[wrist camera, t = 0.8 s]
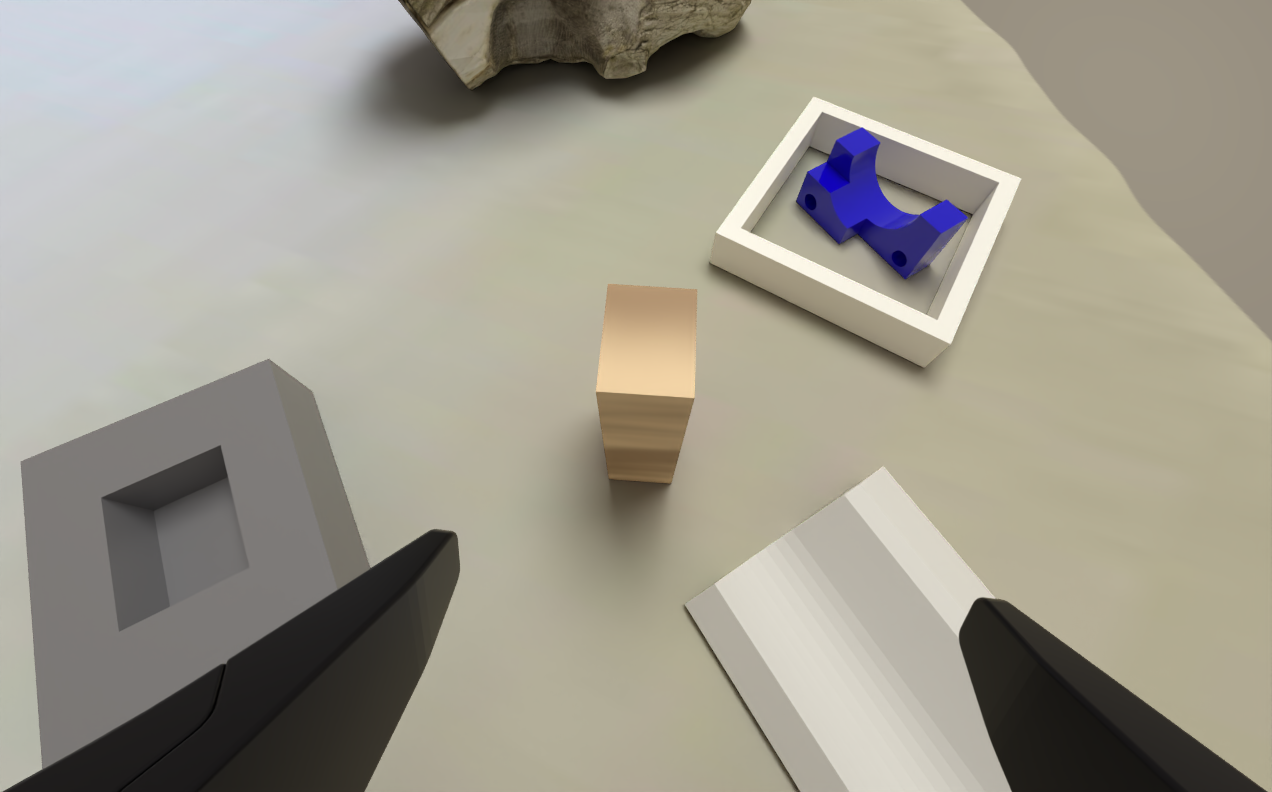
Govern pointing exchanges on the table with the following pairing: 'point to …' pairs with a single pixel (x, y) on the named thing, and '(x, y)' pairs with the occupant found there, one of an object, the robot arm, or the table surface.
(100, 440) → the end cap
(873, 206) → the cable holder
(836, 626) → the crown molding
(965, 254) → the tray
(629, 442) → the tan wooden block
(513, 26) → the hollow geode rock
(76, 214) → the table surface
